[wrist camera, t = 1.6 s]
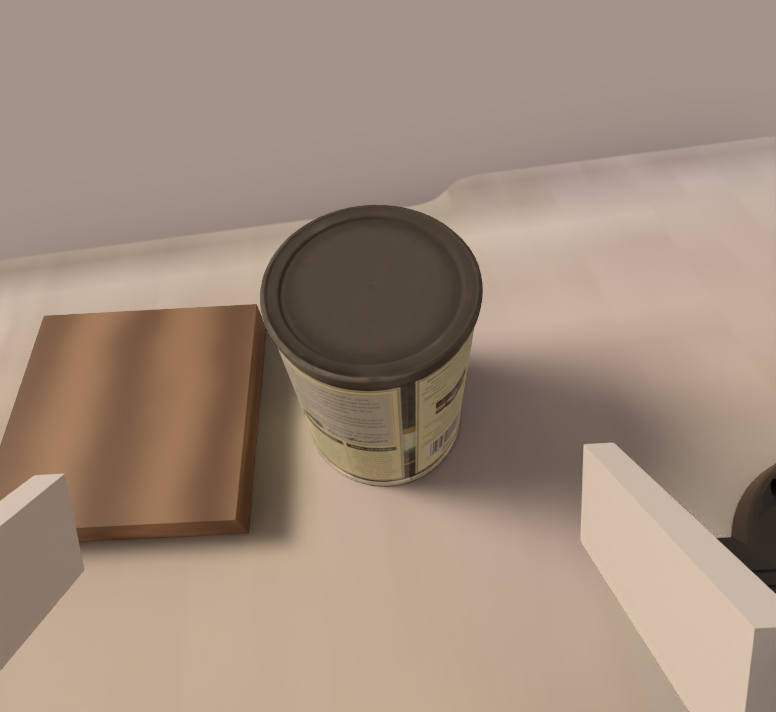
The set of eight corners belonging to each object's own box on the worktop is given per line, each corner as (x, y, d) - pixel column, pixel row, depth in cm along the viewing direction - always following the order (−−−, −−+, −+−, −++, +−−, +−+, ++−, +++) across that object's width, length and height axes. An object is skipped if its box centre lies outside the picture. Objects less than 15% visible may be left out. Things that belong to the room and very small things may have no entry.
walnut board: (266, 328, 42) (256, 304, 39) (248, 532, 34) (235, 519, 32) (66, 339, 42) (44, 315, 40) (3, 545, 34) (-30, 533, 32)
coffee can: (330, 338, 41) (296, 191, 29) (470, 361, 40) (495, 217, 28) (288, 470, 36) (226, 358, 24) (446, 503, 35) (465, 400, 23)
